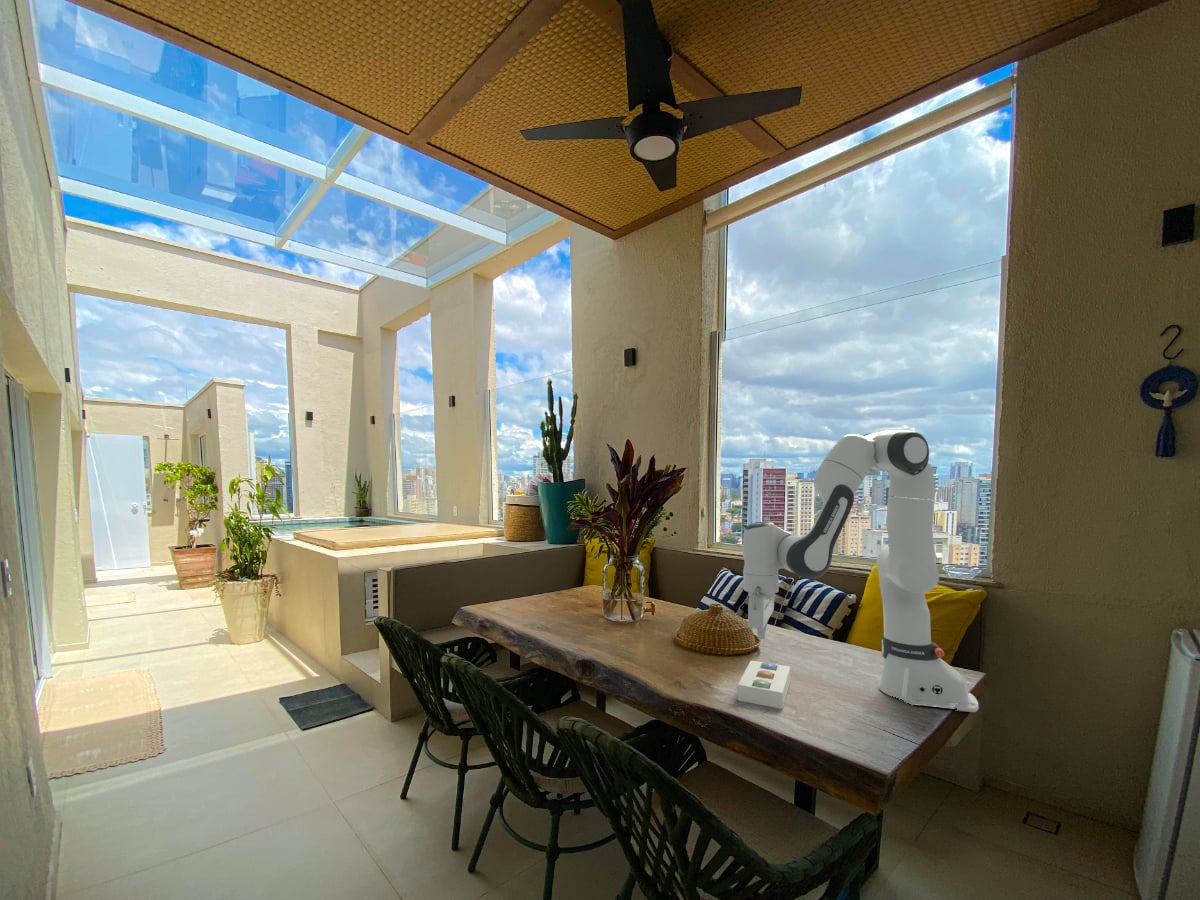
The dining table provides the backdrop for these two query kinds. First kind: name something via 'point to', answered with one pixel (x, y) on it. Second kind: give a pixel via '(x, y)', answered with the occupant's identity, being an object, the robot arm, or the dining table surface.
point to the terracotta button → (765, 674)
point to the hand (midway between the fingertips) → (762, 637)
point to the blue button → (769, 666)
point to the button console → (762, 695)
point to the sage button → (761, 683)
